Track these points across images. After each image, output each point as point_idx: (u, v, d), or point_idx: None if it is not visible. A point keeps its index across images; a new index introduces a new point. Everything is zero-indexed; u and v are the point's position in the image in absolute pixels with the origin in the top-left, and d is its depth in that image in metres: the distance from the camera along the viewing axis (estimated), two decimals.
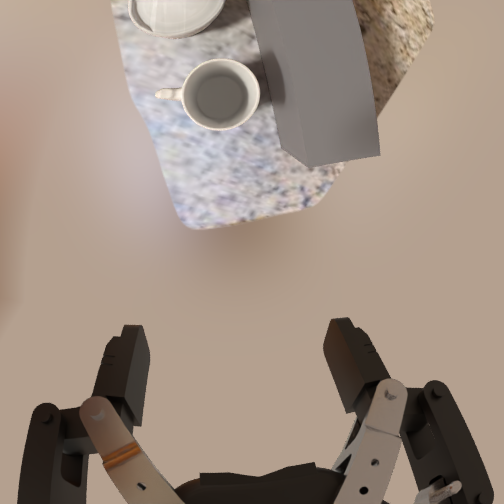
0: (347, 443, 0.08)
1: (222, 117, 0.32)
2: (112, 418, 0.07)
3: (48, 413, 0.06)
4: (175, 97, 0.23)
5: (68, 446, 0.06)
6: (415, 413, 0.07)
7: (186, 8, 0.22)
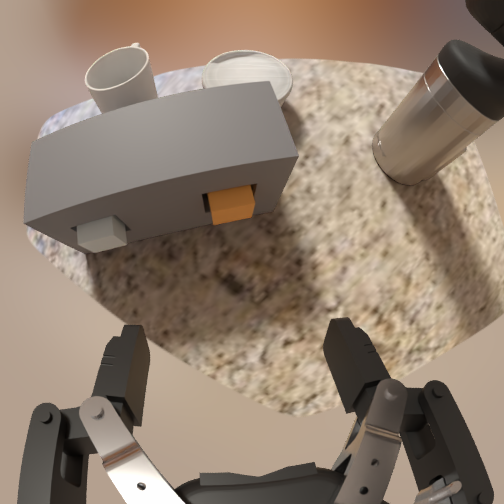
0: (347, 443, 0.08)
1: None
2: (112, 418, 0.07)
3: (48, 413, 0.06)
4: None
5: (68, 446, 0.06)
6: (415, 413, 0.07)
7: (231, 80, 0.29)
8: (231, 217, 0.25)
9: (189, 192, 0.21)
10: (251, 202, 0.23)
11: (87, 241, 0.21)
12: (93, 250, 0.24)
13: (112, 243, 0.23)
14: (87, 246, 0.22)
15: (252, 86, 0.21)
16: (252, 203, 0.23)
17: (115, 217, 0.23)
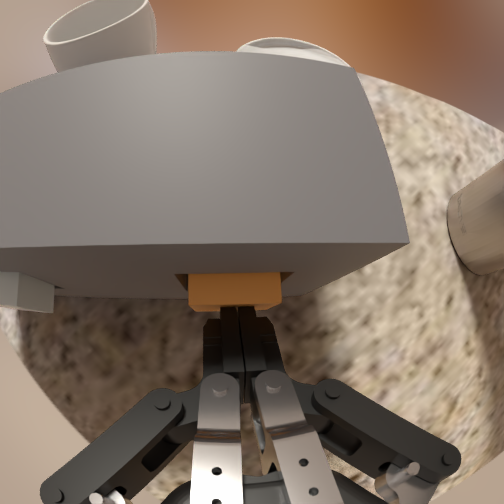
0: (260, 446, 0.08)
1: None
2: (232, 401, 0.08)
3: (167, 402, 0.07)
4: None
5: (168, 436, 0.07)
6: (303, 412, 0.08)
7: None
8: None
9: (145, 269, 0.09)
10: (274, 299, 0.11)
11: None
12: (6, 307, 0.12)
13: (26, 309, 0.11)
14: None
15: (321, 68, 0.10)
16: (276, 301, 0.11)
17: None
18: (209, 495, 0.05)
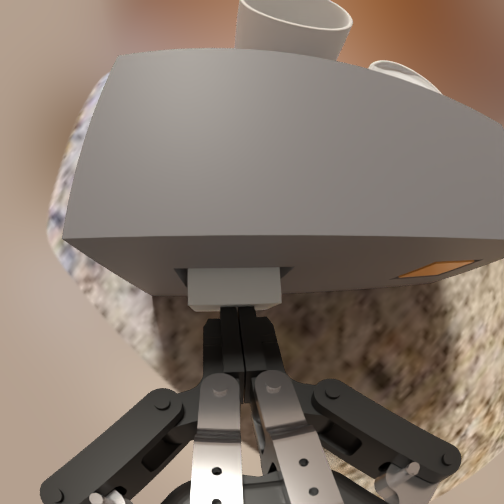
0: (260, 446, 0.08)
1: None
2: (232, 401, 0.08)
3: (167, 402, 0.07)
4: None
5: (168, 436, 0.07)
6: (303, 412, 0.08)
7: None
8: (428, 272, 0.15)
9: (433, 258, 0.11)
10: None
11: (214, 303, 0.11)
12: (199, 310, 0.13)
13: None
14: (201, 307, 0.12)
15: (493, 125, 0.11)
16: (471, 261, 0.13)
17: None
18: (209, 495, 0.05)
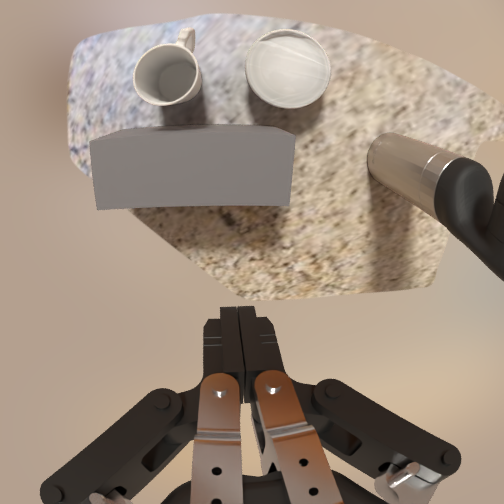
0: (260, 446, 0.08)
1: (159, 81, 0.32)
2: (232, 401, 0.08)
3: (167, 402, 0.07)
4: (177, 40, 0.23)
5: (168, 436, 0.07)
6: (303, 412, 0.08)
7: (272, 71, 0.30)
8: None
9: None
10: None
11: None
12: None
13: None
14: None
15: (279, 139, 0.28)
16: None
17: None
18: (209, 495, 0.05)
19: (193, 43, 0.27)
